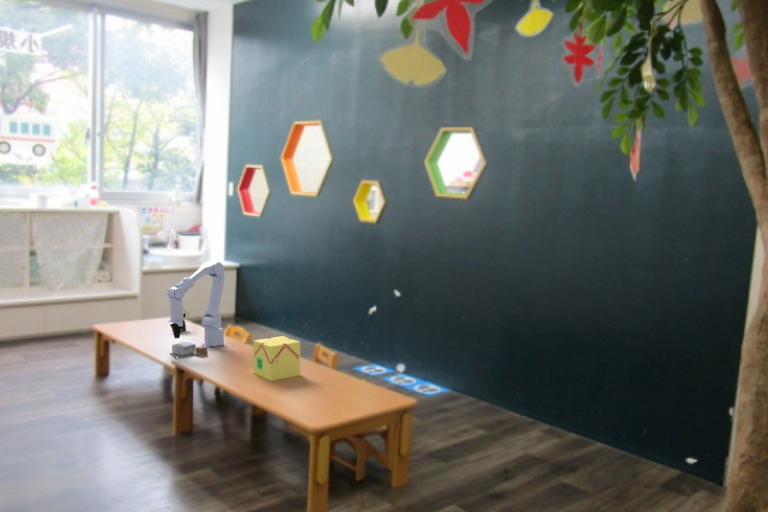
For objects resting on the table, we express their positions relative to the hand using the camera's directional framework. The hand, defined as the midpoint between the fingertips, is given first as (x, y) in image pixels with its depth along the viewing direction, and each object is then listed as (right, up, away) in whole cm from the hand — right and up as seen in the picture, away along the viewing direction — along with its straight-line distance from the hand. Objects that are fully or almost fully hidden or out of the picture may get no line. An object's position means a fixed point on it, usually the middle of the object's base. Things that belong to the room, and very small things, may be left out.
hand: (176, 338), depth 322 cm
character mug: (-15, -3, +52) cm, 54 cm away
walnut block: (+13, -8, -4) cm, 16 cm away
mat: (+4, -8, -4) cm, 10 cm away
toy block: (+56, -12, -35) cm, 67 cm away
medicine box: (0, -5, +1) cm, 5 cm away
